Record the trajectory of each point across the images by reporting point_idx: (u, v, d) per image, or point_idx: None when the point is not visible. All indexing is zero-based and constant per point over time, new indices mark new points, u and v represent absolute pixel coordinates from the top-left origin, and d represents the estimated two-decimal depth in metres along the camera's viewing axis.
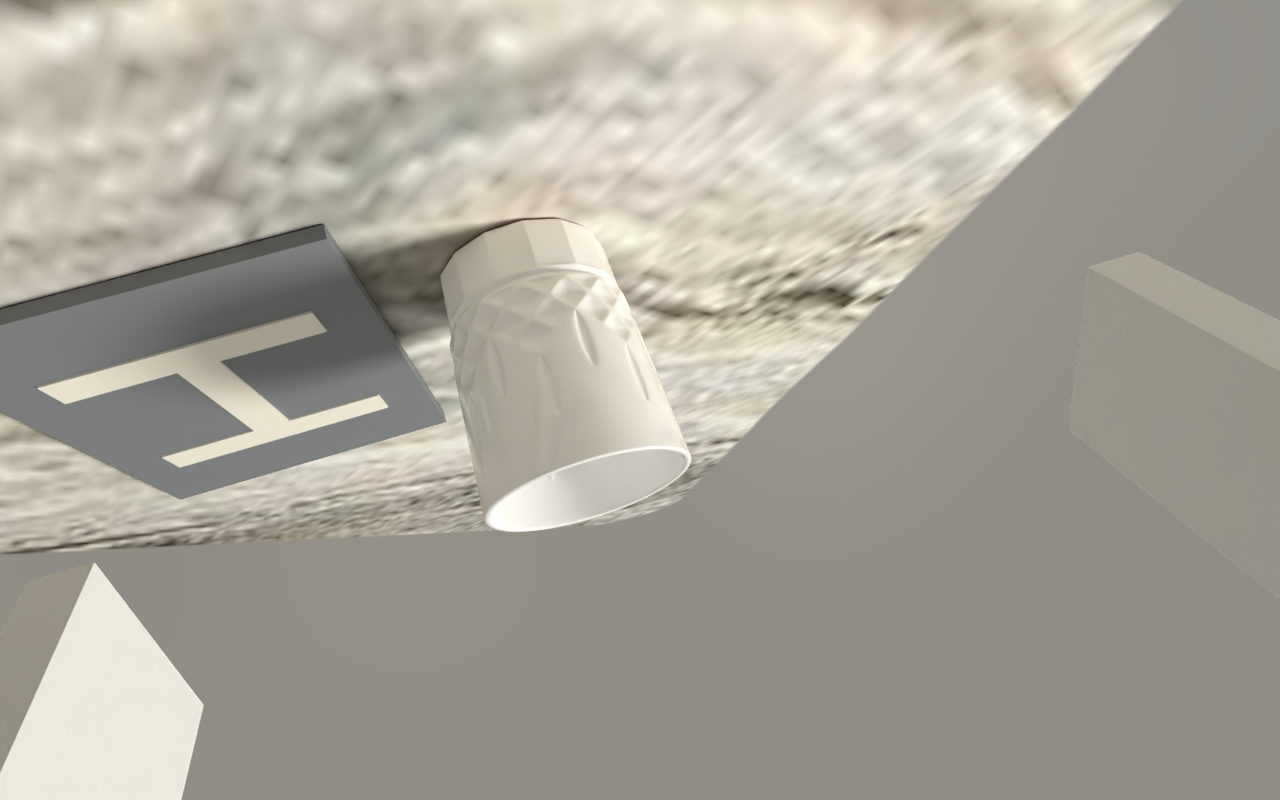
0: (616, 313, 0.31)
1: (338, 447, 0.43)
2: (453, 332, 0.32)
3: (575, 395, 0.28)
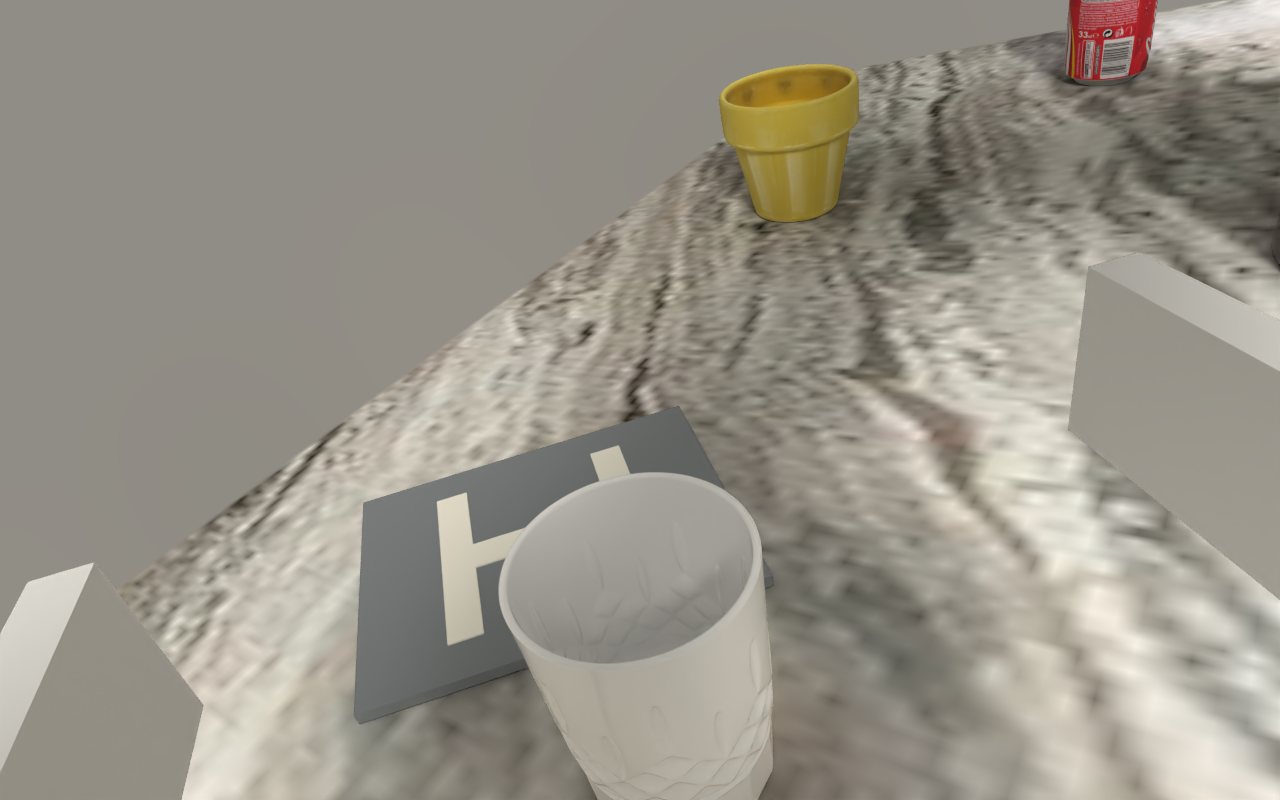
0: (756, 722, 0.26)
1: (374, 610, 0.38)
2: None
3: None
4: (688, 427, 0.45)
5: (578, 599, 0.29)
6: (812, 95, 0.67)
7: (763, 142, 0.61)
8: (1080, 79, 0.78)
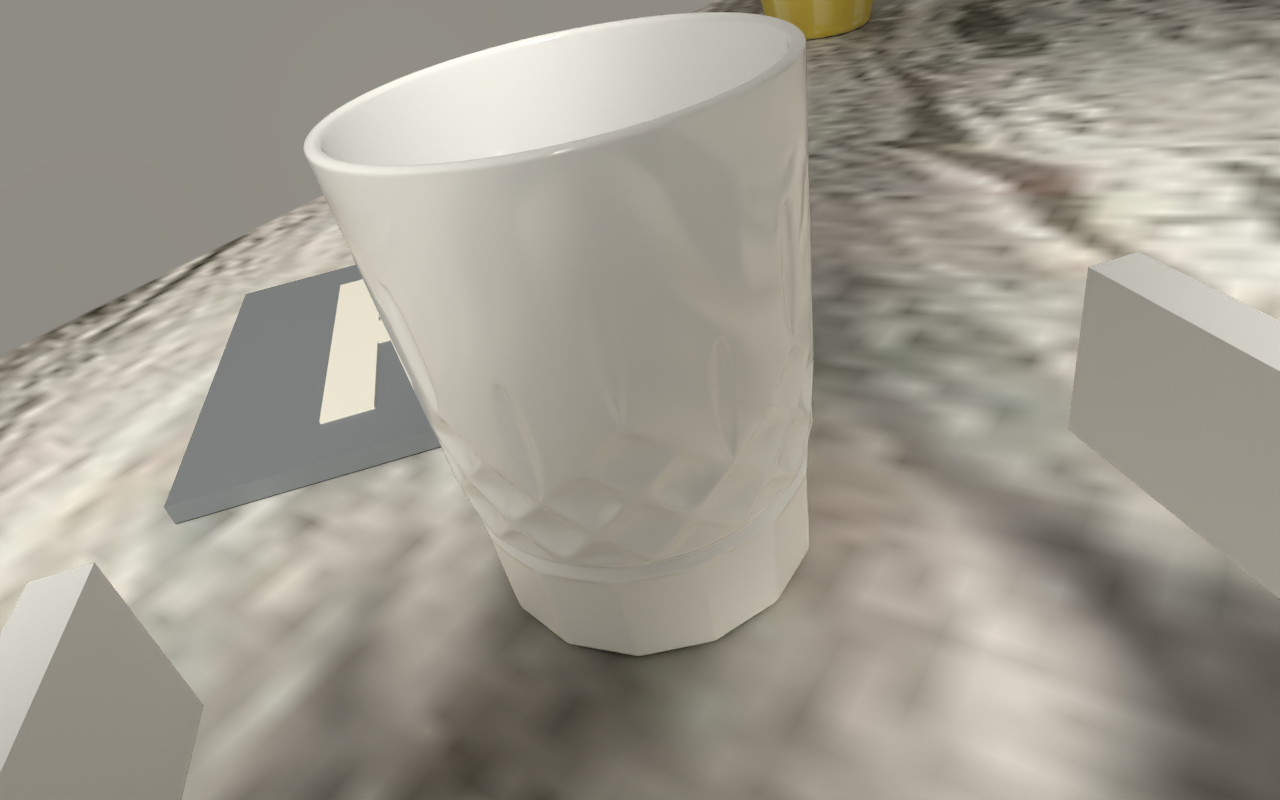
0: (788, 412, 0.14)
1: (228, 394, 0.27)
2: None
3: None
4: None
5: None
6: None
7: None
8: None
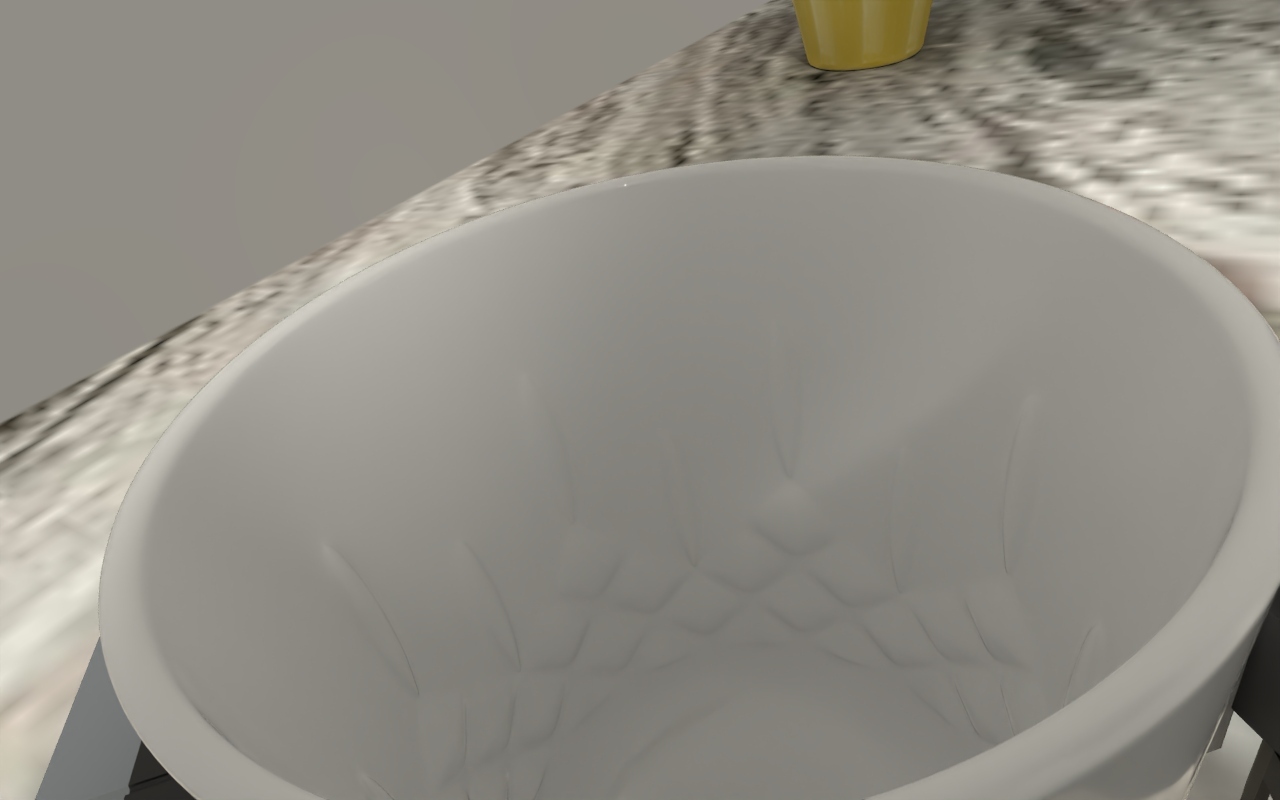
0: None
1: None
2: None
3: None
4: None
5: (505, 547, 0.11)
6: None
7: None
8: None
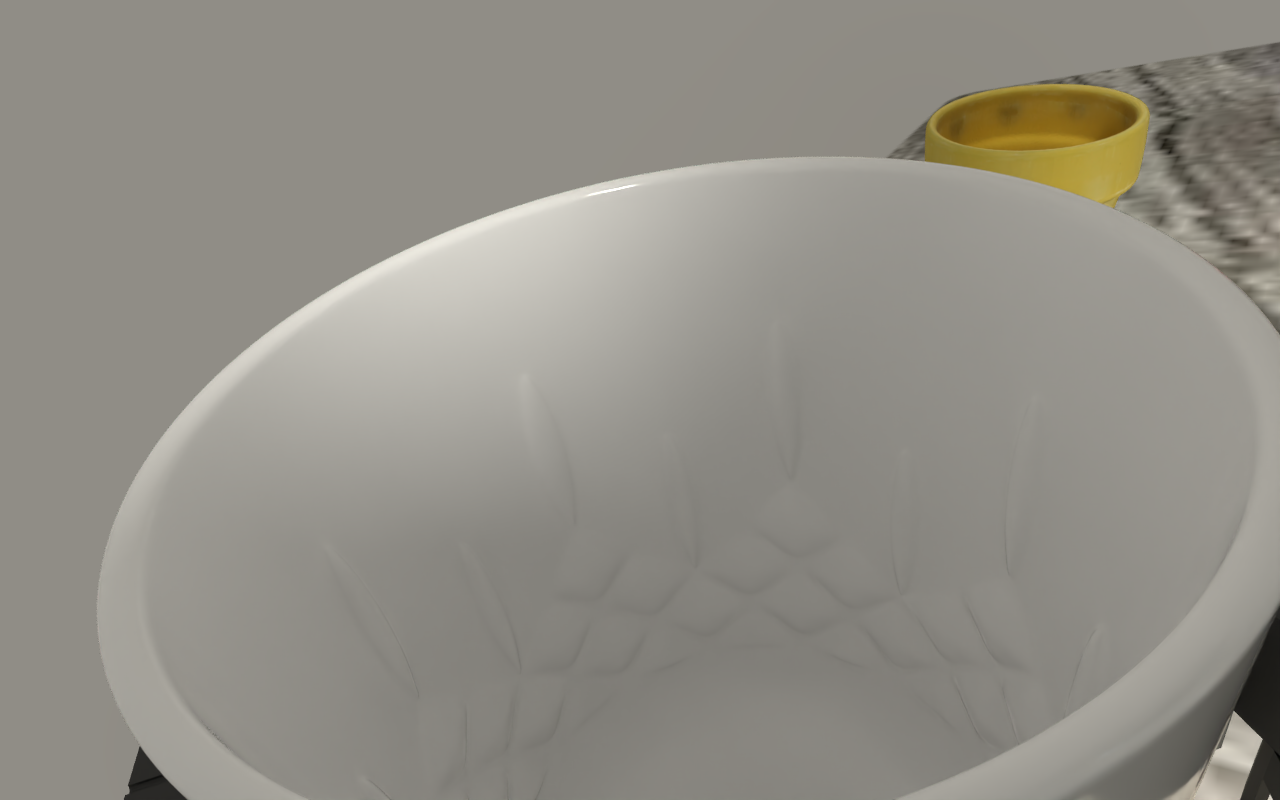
0: None
1: None
2: None
3: None
4: None
5: (507, 550, 0.11)
6: (1049, 128, 0.46)
7: None
8: None
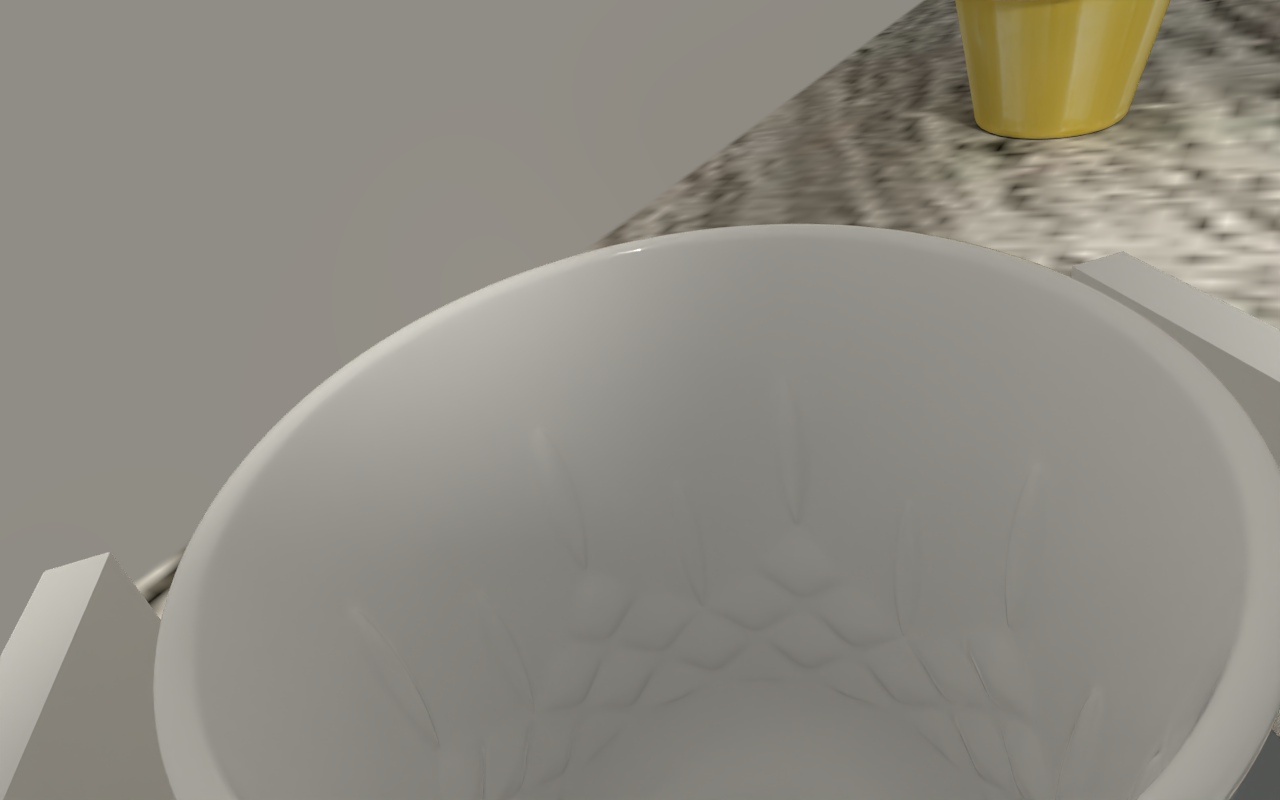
0: None
1: None
2: None
3: None
4: None
5: (520, 595, 0.11)
6: None
7: None
8: None
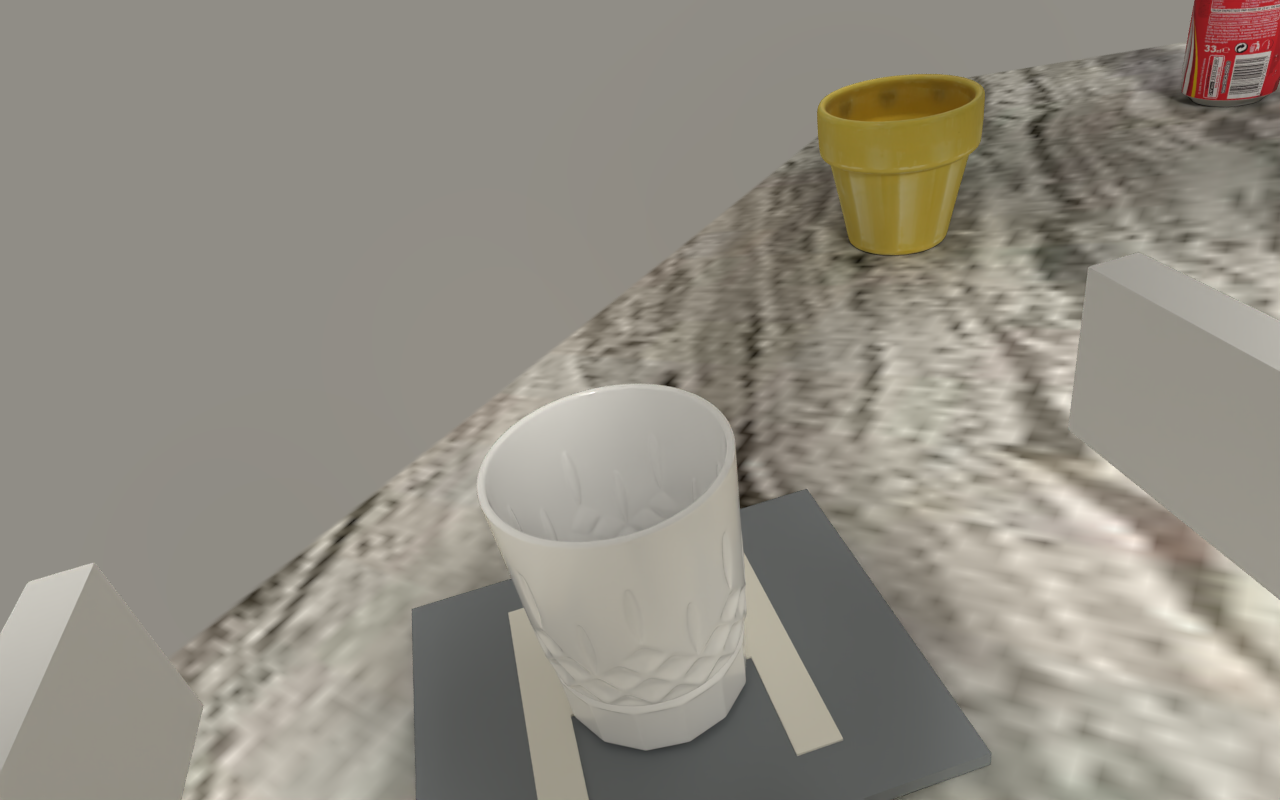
0: (729, 623, 0.26)
1: (437, 777, 0.29)
2: None
3: None
4: (825, 519, 0.36)
5: (556, 512, 0.29)
6: (919, 110, 0.58)
7: (874, 162, 0.52)
8: (1202, 99, 0.69)
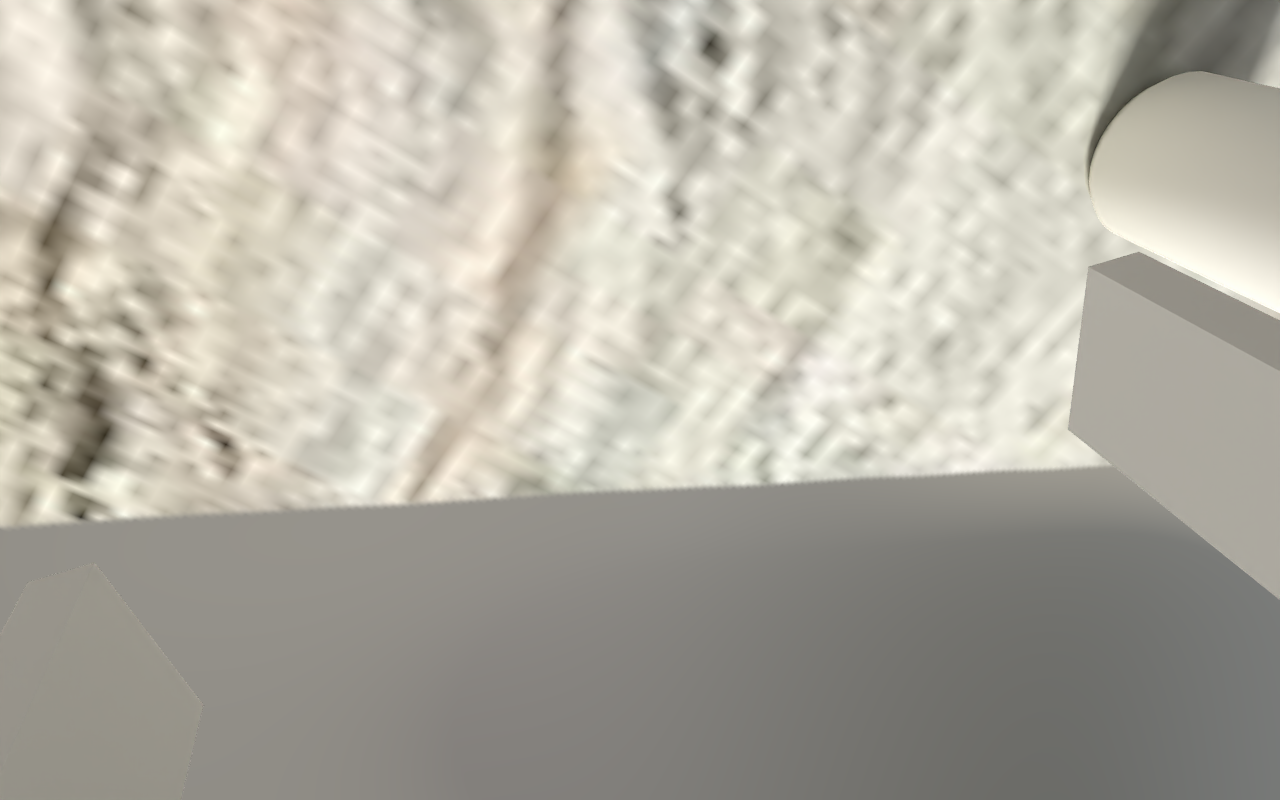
0: None
1: None
2: None
3: None
4: None
5: None
6: None
7: None
8: None
